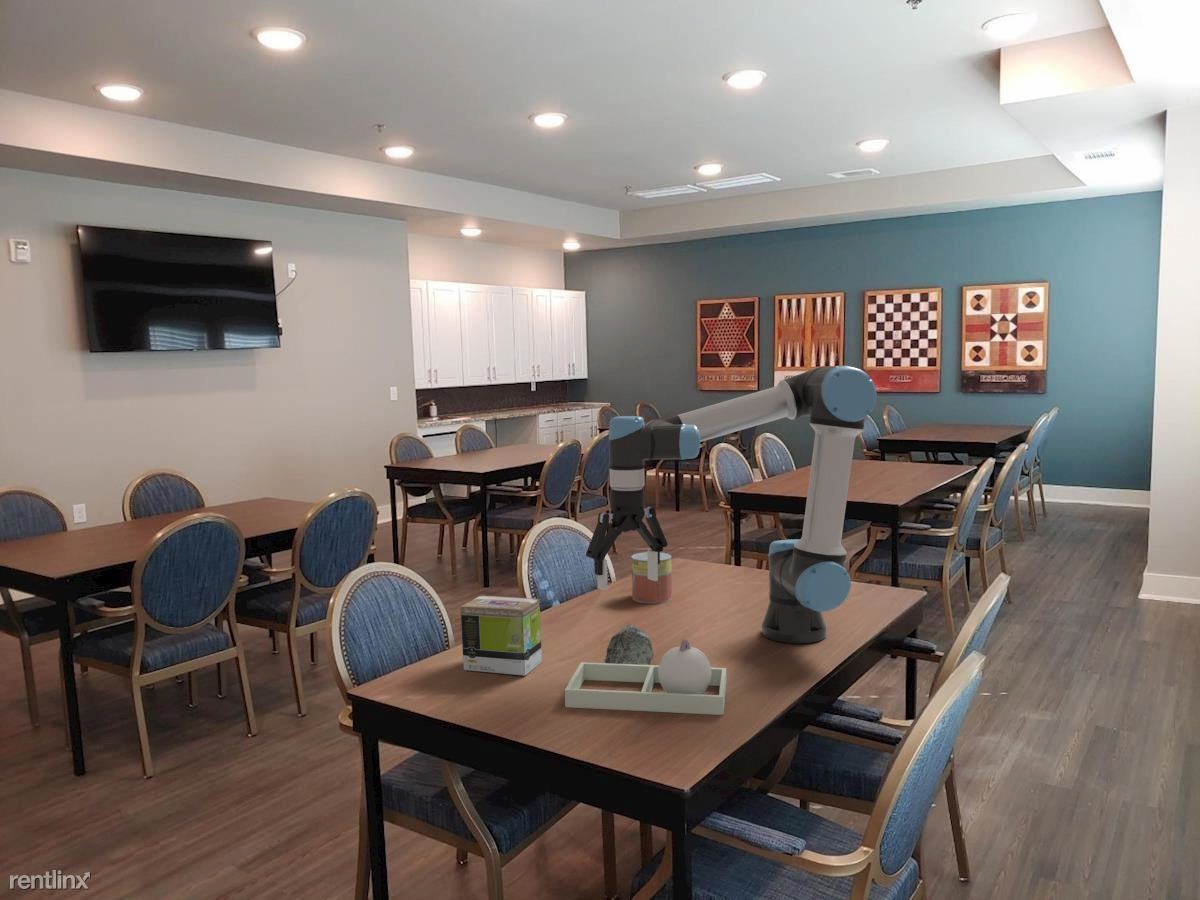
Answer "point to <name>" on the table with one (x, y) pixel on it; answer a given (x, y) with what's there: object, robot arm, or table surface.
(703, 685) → the ornament
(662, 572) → the canned food
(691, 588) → the table surface
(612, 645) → the stone
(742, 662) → the table surface
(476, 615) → the tea box
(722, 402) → the robot arm
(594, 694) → the holder
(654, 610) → the table surface
